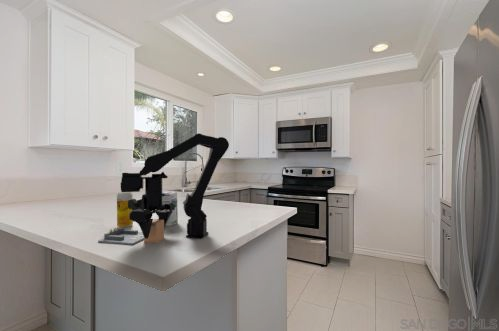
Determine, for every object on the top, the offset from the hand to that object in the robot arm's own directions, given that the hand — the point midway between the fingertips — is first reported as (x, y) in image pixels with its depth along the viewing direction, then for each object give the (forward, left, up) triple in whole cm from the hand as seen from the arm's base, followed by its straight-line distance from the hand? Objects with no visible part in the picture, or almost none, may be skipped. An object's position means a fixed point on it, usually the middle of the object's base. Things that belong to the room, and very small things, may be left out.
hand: (154, 234), depth 84 cm
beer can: (+24, -14, -2) cm, 28 cm away
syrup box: (+7, -21, -2) cm, 22 cm away
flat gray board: (+11, 0, -2) cm, 11 cm away
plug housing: (0, 0, -2) cm, 2 cm away
